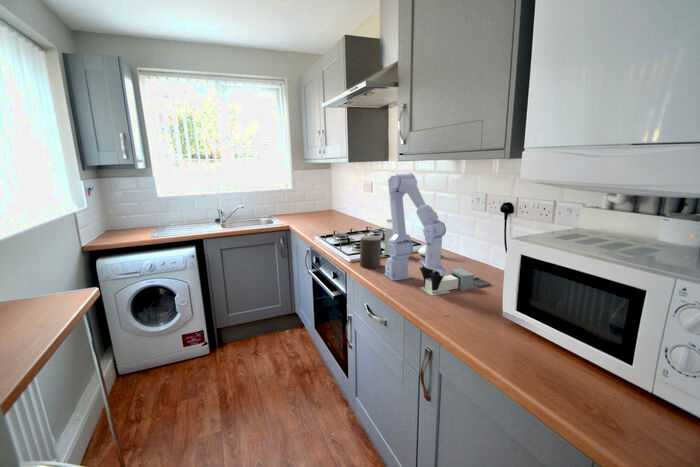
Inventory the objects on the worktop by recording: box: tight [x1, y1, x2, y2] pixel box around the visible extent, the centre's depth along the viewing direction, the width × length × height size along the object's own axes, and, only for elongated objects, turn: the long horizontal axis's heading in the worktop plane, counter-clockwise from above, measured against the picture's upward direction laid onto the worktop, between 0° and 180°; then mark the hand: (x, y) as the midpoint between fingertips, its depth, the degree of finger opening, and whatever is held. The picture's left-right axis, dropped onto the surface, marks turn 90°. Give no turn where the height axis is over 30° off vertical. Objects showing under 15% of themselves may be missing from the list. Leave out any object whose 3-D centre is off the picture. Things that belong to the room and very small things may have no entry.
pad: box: [419, 286, 451, 297], centre depth 124 cm, size 8×8×1 cm
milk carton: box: [383, 219, 401, 257], centre depth 168 cm, size 7×7×19 cm
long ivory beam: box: [424, 274, 459, 293], centre depth 124 cm, size 12×4×4 cm, turn 110°
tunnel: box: [449, 267, 475, 291], centre depth 127 cm, size 5×8×6 cm, turn 20°
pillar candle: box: [359, 235, 382, 270], centre depth 151 cm, size 10×10×15 cm
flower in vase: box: [417, 209, 439, 257], centre depth 166 cm, size 13×11×25 cm
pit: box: [473, 276, 491, 288], centre depth 130 cm, size 6×7×1 cm
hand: (431, 287), depth 123 cm, fingers closed on long ivory beam, 4 cm apart
